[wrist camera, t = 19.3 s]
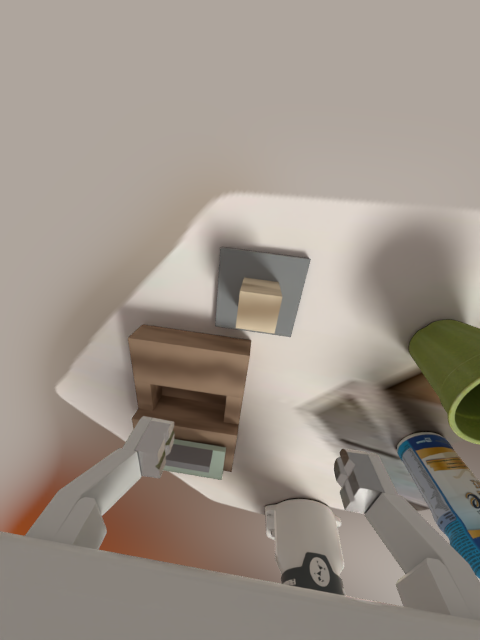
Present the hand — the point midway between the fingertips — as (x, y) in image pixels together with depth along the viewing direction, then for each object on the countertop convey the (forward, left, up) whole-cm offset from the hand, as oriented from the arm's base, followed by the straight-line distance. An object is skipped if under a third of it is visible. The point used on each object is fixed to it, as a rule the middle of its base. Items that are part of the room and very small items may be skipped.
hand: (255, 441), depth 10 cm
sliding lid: (-28, +9, -15) cm, 33 cm away
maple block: (0, 0, -20) cm, 20 cm away
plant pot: (-3, -25, -21) cm, 33 cm away
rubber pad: (0, 0, -21) cm, 21 cm away
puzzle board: (-19, +9, -21) cm, 30 cm away
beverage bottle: (-24, -33, -21) cm, 46 cm away
